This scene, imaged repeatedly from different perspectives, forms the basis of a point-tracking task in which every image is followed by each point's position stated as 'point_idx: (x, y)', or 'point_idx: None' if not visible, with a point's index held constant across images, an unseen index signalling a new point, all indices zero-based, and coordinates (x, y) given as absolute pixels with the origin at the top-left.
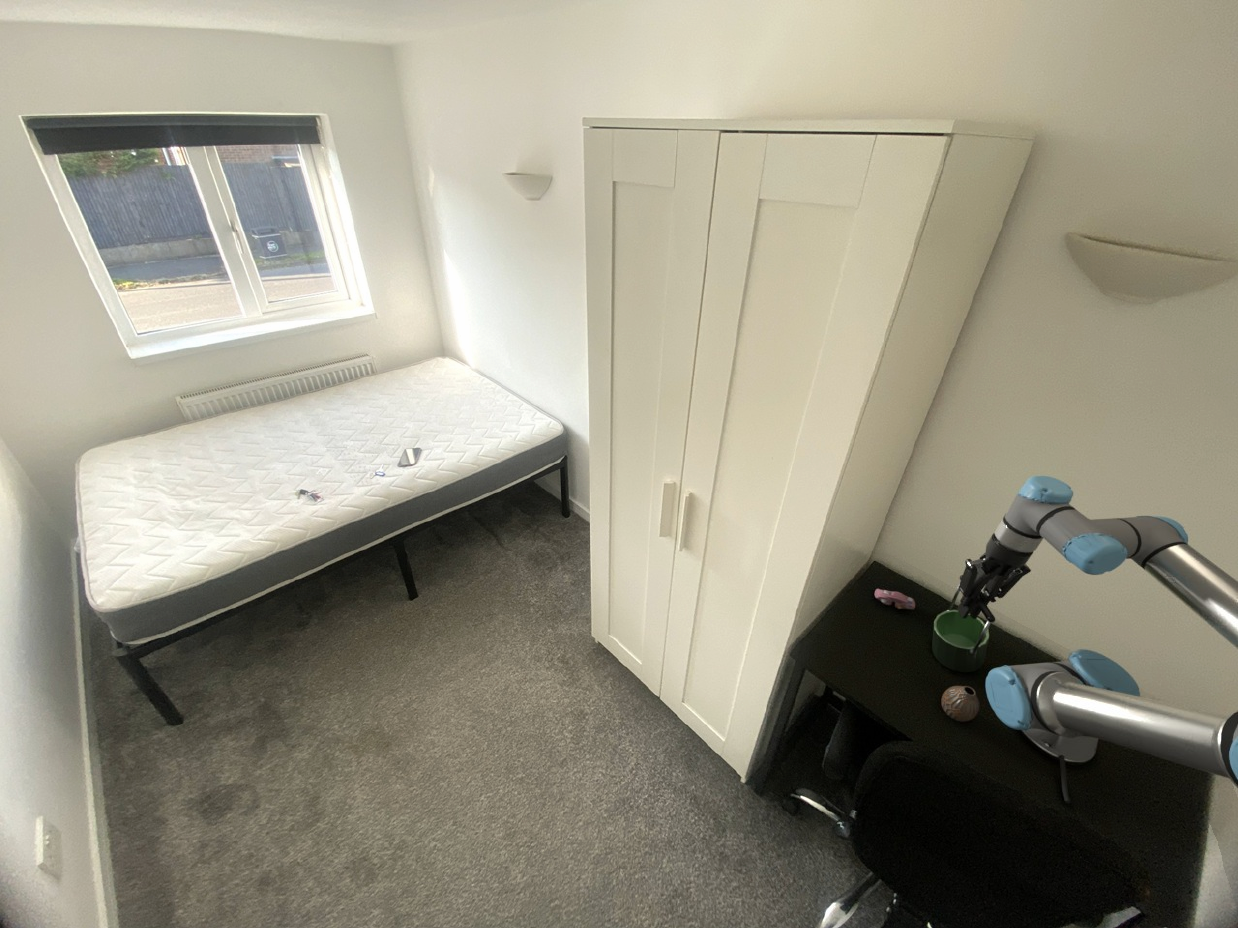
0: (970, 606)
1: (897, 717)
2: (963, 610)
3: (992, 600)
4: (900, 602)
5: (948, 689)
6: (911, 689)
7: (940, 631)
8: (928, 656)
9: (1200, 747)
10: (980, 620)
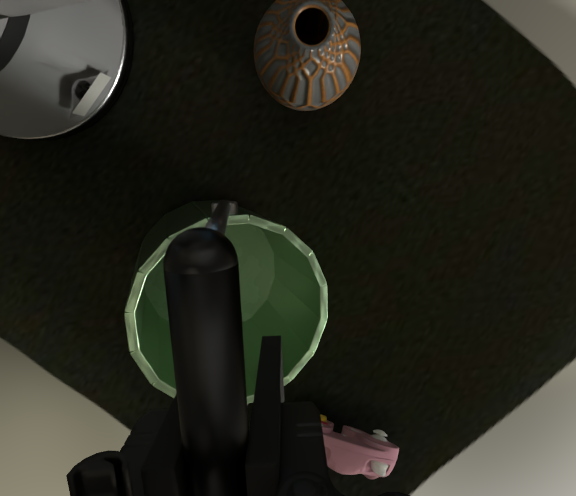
0: (279, 400)
1: (489, 30)
2: (281, 379)
3: (108, 473)
4: (335, 434)
5: (345, 83)
6: (401, 135)
7: (251, 333)
8: None
9: None
10: (139, 357)
